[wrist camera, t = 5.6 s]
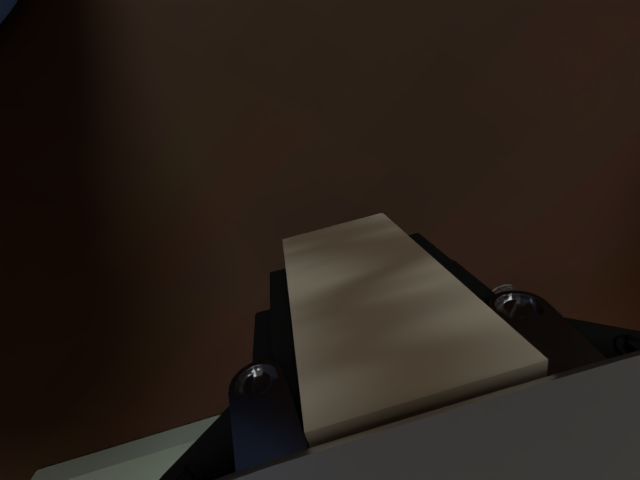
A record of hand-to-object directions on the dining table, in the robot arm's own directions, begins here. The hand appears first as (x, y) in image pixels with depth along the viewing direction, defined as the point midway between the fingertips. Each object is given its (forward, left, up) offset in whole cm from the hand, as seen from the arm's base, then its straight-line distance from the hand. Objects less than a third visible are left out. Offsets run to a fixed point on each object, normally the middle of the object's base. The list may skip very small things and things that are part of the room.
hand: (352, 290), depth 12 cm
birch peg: (0, 0, -2) cm, 2 cm away
